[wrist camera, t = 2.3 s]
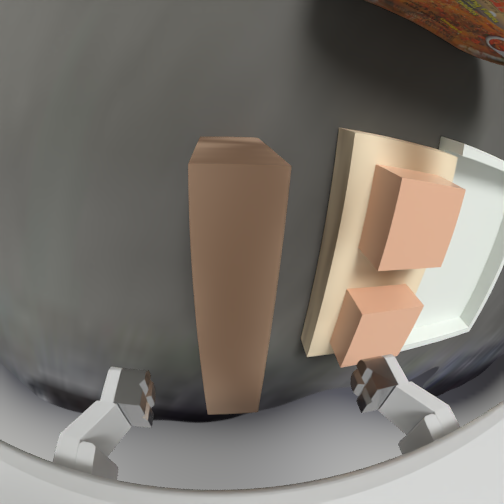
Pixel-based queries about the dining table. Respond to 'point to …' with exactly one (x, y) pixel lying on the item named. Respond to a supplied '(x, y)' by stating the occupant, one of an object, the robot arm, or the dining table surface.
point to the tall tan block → (235, 263)
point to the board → (359, 227)
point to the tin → (458, 23)
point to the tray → (465, 251)
